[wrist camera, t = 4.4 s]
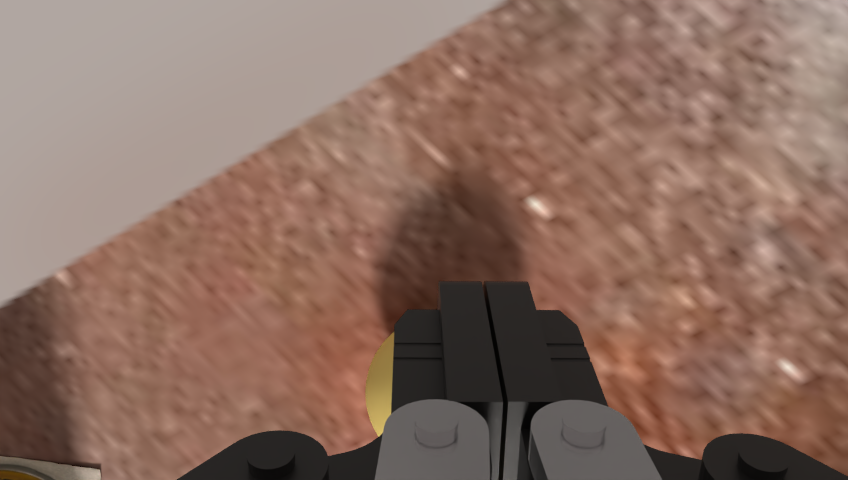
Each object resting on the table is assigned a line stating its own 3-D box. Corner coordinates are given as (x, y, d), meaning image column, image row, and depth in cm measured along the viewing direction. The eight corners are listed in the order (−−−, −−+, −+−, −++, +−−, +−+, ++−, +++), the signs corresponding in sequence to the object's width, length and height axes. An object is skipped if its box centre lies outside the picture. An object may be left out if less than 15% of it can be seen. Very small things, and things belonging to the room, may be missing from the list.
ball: (514, 288, 30) (535, 367, 25) (506, 411, 33) (523, 506, 28) (368, 287, 30) (359, 366, 25) (370, 410, 32) (362, 505, 27)
